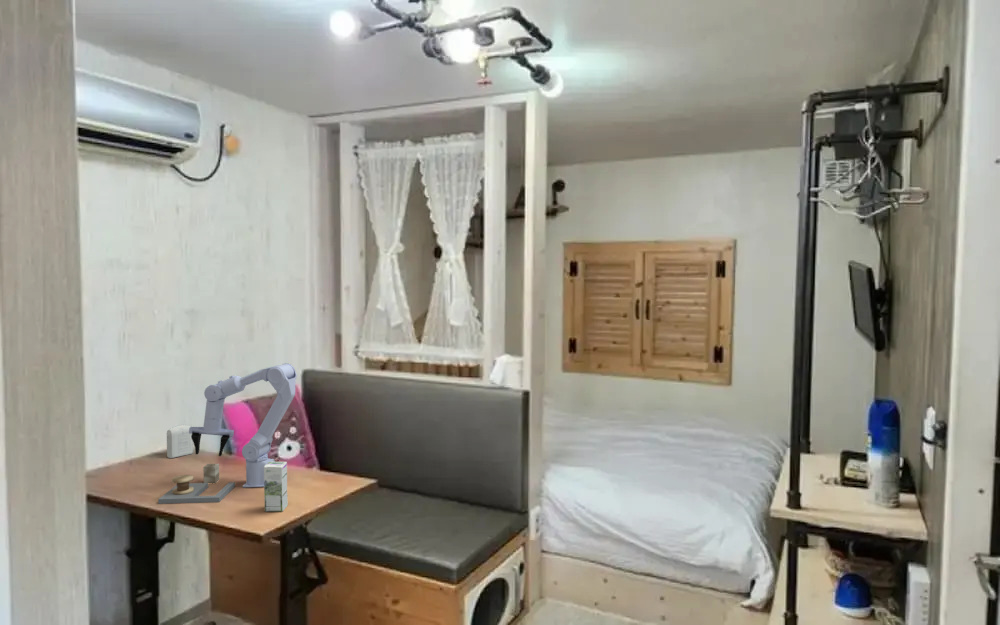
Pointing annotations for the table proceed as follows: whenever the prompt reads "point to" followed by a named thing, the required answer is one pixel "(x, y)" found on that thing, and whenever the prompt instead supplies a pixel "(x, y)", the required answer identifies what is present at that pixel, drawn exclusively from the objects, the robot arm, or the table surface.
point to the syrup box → (275, 486)
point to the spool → (182, 485)
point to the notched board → (196, 494)
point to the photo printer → (179, 441)
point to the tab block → (211, 473)
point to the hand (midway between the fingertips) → (208, 454)
